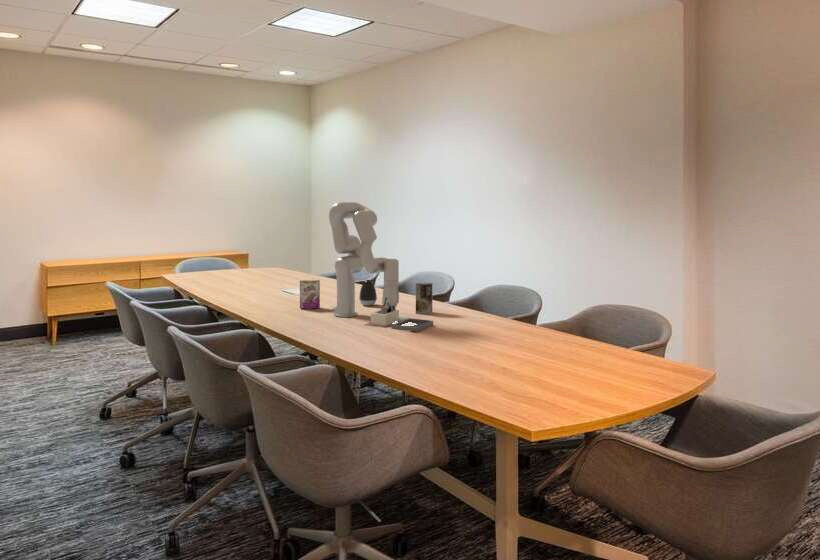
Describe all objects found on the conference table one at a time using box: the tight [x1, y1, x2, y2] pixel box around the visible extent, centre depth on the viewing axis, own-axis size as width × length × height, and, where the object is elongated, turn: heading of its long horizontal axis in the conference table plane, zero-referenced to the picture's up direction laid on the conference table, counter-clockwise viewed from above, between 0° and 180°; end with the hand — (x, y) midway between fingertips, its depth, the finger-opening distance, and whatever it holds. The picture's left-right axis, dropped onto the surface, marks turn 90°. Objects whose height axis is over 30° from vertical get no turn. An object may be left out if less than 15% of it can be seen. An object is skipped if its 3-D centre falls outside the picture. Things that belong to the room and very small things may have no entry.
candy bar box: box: [299, 278, 321, 310], centre depth 345 cm, size 11×5×16 cm, turn 98°
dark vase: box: [358, 279, 378, 307], centre depth 356 cm, size 10×10×15 cm
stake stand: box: [363, 307, 393, 329], centre depth 302 cm, size 13×17×8 cm
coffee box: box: [415, 282, 433, 315], centre depth 333 cm, size 9×6×16 cm
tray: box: [390, 317, 434, 333], centre depth 297 cm, size 13×19×2 cm
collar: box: [370, 309, 400, 326], centre depth 305 cm, size 8×14×6 cm, turn 154°
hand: (391, 318), depth 310 cm, fingers closed on collar, 1 cm apart
